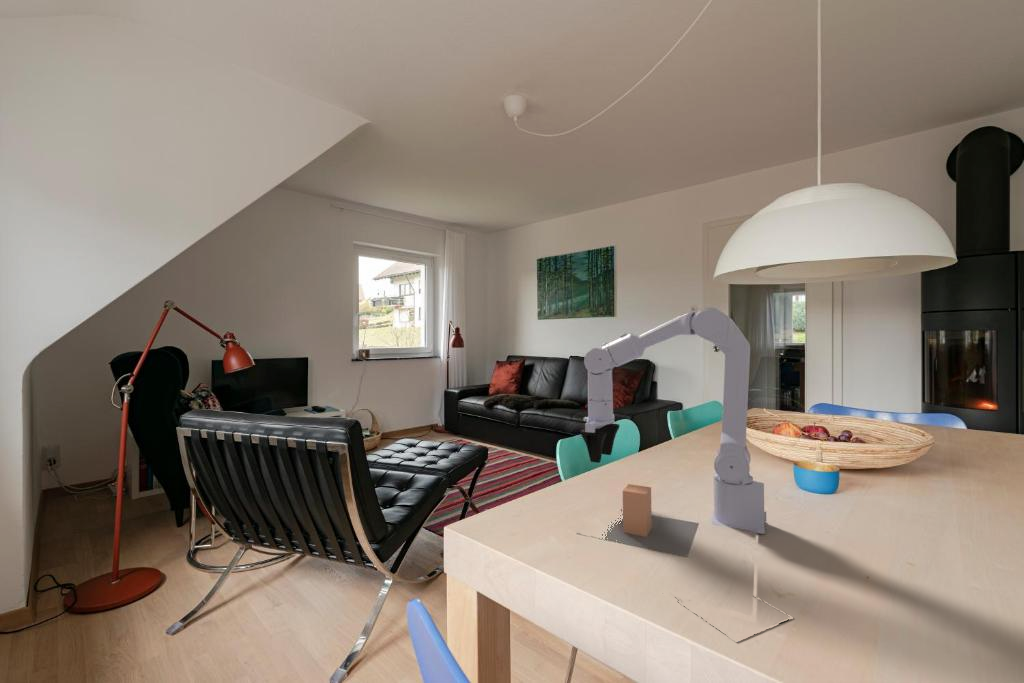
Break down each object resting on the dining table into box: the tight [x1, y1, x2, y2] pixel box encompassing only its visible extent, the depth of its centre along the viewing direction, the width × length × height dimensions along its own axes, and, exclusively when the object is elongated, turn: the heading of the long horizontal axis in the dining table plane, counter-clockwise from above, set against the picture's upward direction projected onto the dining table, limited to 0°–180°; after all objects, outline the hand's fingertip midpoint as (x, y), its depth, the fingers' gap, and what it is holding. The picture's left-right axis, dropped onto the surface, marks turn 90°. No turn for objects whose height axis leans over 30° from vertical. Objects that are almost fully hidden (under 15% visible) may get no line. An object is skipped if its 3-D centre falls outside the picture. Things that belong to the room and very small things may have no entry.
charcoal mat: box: [598, 514, 699, 558], centre depth 88 cm, size 20×16×1 cm
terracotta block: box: [622, 483, 652, 537], centre depth 87 cm, size 4×4×8 cm
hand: (601, 458), depth 105 cm, fingers open, 7 cm apart
